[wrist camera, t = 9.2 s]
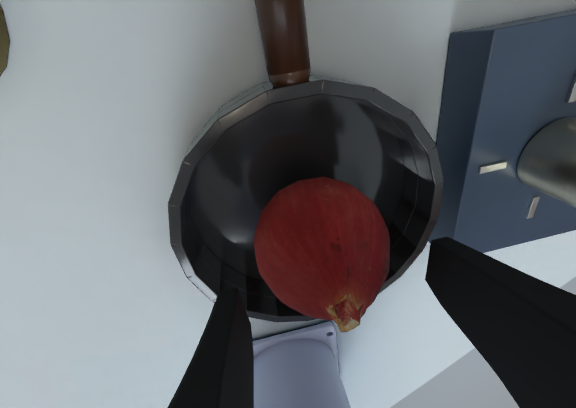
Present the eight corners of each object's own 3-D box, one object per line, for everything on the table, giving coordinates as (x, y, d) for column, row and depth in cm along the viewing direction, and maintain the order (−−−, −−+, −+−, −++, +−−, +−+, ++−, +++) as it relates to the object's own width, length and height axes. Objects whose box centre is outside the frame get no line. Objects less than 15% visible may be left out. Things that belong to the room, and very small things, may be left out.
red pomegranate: (368, 169, 15) (483, 270, 8) (329, 251, 17) (390, 382, 10) (267, 140, 13) (302, 238, 6) (239, 235, 16) (241, 381, 9)
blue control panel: (544, 208, 19) (585, 230, 17) (424, 237, 18) (450, 263, 16) (624, -1, 13) (708, -12, 11) (449, 33, 12) (498, 28, 10)
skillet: (402, 258, 19) (428, 290, 17) (221, 303, 18) (219, 344, 16) (418, 51, 13) (465, 51, 10) (136, 106, 12) (109, 121, 9)
